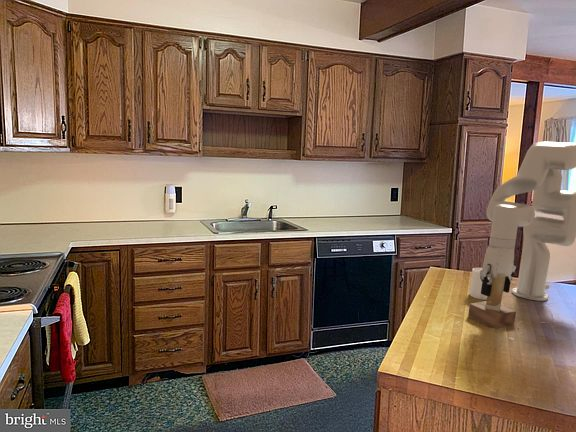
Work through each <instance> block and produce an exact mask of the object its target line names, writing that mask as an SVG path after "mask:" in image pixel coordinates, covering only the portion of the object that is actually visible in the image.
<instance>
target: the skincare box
mask: <svg viewBox="0 0 576 432" xmlns="http://www.w3.org/2000/svg"><path fill="white" fill-rule="evenodd" d="M491 275H492V274H491ZM505 276H506V274H502V275H498V277H497V278H494V279H493V281H492V283H491V285H492V289H491V295H490V296H489V297H488V296H487V300H486V301H487V302H486V309H490V310H494V311H500V307H501V305H502V301H503V293H504V291H503V289H504V282H505Z"/></svg>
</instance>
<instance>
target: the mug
mask: <svg viewBox="0 0 576 432" xmlns="http://www.w3.org/2000/svg"><path fill="white" fill-rule="evenodd" d="M481 270H482V267H473V268H472V269H471V277H470V278H471V279H470V284H469V296H471V298H474V299H477V300H482V301H483V300H484V301H487V296H486V295H483V294H481V288H482V282H481V279H480V271H481ZM490 275H491V274H490ZM487 278H488V280H489V279H490V278H489V277H487Z"/></svg>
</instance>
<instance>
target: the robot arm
mask: <svg viewBox="0 0 576 432" xmlns="http://www.w3.org/2000/svg"><path fill="white" fill-rule="evenodd" d="M523 158H524V159H523V160H522V163H521V164H520V166H519V169H518V172H517V174H516V175H515V176H514V177H512V178H510V179H508V180H507V181H505V182H504V183H502V184H501V185H499V186H498V187H497V188H496V189H495V191H494V192H493V194H492V196H491V198H490V199H489V203H487V207H486V218H487V219H488V220H489V221H490V222H491V228H490V234H489V242H488V243H489V244H488V246H487V248H486V251H485V254H484V259H483V264H482V266H481V268H482V270H481V271H480V279H481V282H482V288H481V294H483V295H486V296H488V297H489V296H490V295H491V289H492V285H491V283H492V281H493V279H494V278H497V277H498V275H502V274H506V276H505V282H504V289H503V293H510V289H511V288H510V287H511V282H512V280H513V276H514V275H515V271H516V269H517V266H516V265H514V262H515V250H516V249H515V247H516V240H517V235H518V229H519V227H520V228H521V227H522V229H523V230H522V231H523V243H522V244H523V245H522V252H521V257H520V258H521V259H520V264H519V270H518V271H519V272H518V278H517V279H518V280H517V284H516V287H513V288H512V289H511V292H512V294H513V295H515V296H517V297H519V298H522V299H526V300H530V301H537V302H538V301H539V302H542V301H544V302H545V301H548V299H549V295H548V294H547V293H546V292H545V291H546V290H549V289H550V285H549V284H546V283H547V277H548V271H549V264H550V259H551V253H550V250H549V248H548V245H547V244H551V245H557V246H561V247H570V246H572V245H573V244H574V243H575V240H576V191H573V190H571V191H570V190H562V188H561V187H562V182H563V174H562V173H561V170H562V171H569V170H573V169H576V142H557V141H538V142H534V143H532V144H531V146H530V147H529V148H528V149H527V151H526V153H525V156H524V157H523ZM532 191H533V195H532V196H533V197H532V200H531V201H532V202H531V205H529V204H526V203H521V202H520V203H518V202H512V201H506V200H507V199H508V198H511V197H513V196H516V195H520V194H525V193H528V192H532ZM535 212H536V213H541V214H546V215H550V216H552V215H553V216H559V217H562V219H560V218H559V219H558V218H553V217H546V216H541V215H540V216H538V215H537V216H536V213H535ZM490 274H492V275H490ZM487 277H489V278H490V279H489V280H488V278H487Z"/></svg>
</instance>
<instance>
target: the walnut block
mask: <svg viewBox="0 0 576 432" xmlns="http://www.w3.org/2000/svg"><path fill="white" fill-rule="evenodd" d="M486 302H487V300H484V301H483V300H482V301H478V302H473V303H469V308H468V315H467V317H468V318H470V319H472V320H474V321H477V322H479V323H480V324H483V325H485V326H487V327H488V328H491V329H493V330H494V329H498V328H502V327H508V326H513V325H515V322H516V321H515V320H516V316H517V315H516V314H517V310H514V309H513V308H512V309H511V307H507V306H505V305H503V304H501V307H500V311H494V310H490V309H486Z"/></svg>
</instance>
